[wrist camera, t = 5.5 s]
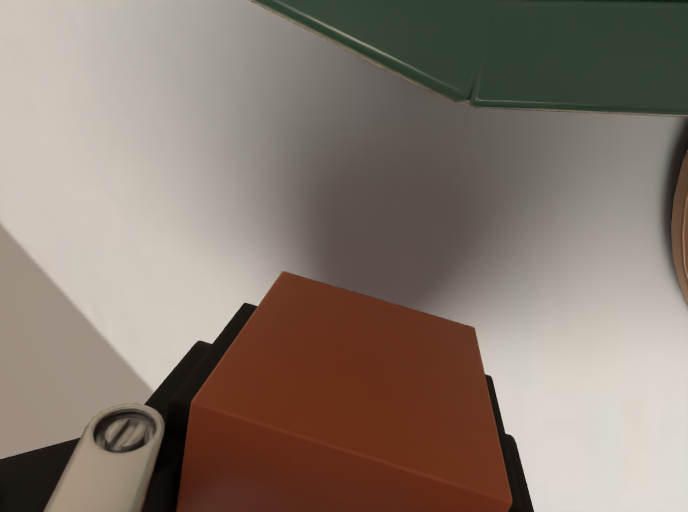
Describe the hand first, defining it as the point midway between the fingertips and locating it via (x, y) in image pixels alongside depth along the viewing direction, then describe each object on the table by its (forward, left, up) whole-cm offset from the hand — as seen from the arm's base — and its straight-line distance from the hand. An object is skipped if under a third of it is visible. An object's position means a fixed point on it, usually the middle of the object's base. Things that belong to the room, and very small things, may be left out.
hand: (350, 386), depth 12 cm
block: (0, 0, 0) cm, 0 cm away
